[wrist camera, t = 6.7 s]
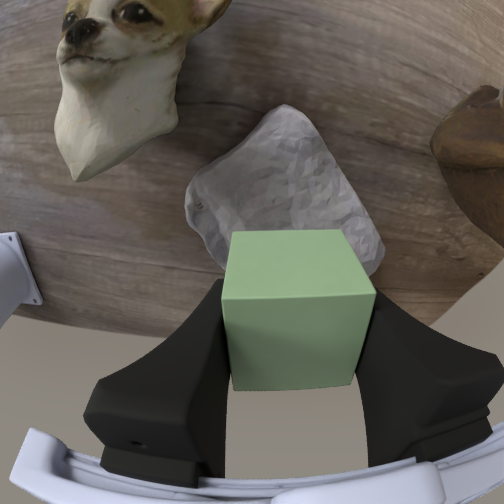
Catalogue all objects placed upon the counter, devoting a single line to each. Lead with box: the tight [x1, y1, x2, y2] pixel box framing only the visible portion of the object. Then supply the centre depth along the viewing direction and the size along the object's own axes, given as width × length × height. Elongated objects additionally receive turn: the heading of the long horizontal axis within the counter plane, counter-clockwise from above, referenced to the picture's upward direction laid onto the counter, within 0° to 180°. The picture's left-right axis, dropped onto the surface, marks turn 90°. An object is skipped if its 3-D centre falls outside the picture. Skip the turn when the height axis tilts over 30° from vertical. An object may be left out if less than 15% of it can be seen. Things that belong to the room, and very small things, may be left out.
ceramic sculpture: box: [54, 0, 232, 182], centre depth 11 cm, size 11×9×15 cm
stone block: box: [184, 104, 386, 277], centre depth 19 cm, size 12×5×10 cm
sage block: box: [221, 229, 376, 391], centre depth 11 cm, size 4×4×4 cm
